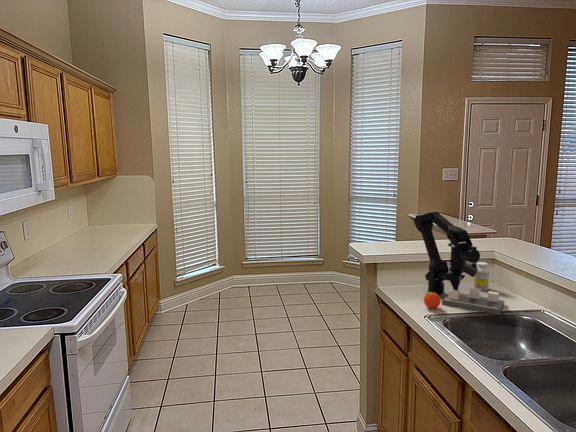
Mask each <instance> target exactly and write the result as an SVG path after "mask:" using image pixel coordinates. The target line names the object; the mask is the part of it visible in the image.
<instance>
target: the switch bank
mask: <svg viewBox="0 0 576 432" xmlns="http://www.w3.org/2000/svg"><path fill="white" fill-rule="evenodd" d="M448 295H449V292H448V293H447V294H446V295H445V296H444V297H443V298H442V300H441V305H444V306H449V307H454V308H459V309H465V310H470V309H472V310H471V311H475V310H478V311H477V312H481V311H482V312H481V313H487V314H492V315H496V316H497V315H498V316H499V315H500V314H501V312H502V310H503V308H504V306H505V300H502V299H499V301H498V302H491V301H487V299H488V297H486V296H480V298H479V299H473V298H469V293H467V294H466V293H461V292H460V295H459V299H458V300H454V299H448Z"/></svg>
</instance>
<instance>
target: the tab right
mask: <svg viewBox="0 0 576 432" xmlns="http://www.w3.org/2000/svg"><path fill="white" fill-rule="evenodd" d="M499 297H500V292H498V291H497V292H496V291H490V290H489V291H488V292H487V298H488V299H487V301H491V302H498V301H499V300H500V298H499Z"/></svg>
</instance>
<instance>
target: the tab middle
mask: <svg viewBox="0 0 576 432" xmlns="http://www.w3.org/2000/svg"><path fill="white" fill-rule="evenodd" d="M481 291H482V290H479V289H475V288H473V287H471V288H470V289H469V293H468V295H469V298H473V299H479V298H480V297H481Z"/></svg>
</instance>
